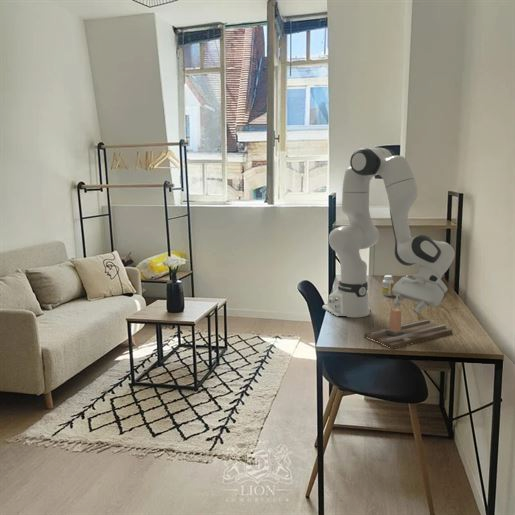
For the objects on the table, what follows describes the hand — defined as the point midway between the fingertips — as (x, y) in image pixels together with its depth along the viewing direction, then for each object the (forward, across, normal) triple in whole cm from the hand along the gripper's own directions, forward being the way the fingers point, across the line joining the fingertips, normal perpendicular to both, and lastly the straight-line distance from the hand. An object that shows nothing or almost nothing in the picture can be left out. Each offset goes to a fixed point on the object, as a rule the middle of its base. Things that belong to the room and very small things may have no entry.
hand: (405, 308), depth 170 cm
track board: (+6, 0, +9) cm, 11 cm away
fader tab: (+10, 0, +3) cm, 10 cm away
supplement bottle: (-19, -48, +35) cm, 62 cm away
